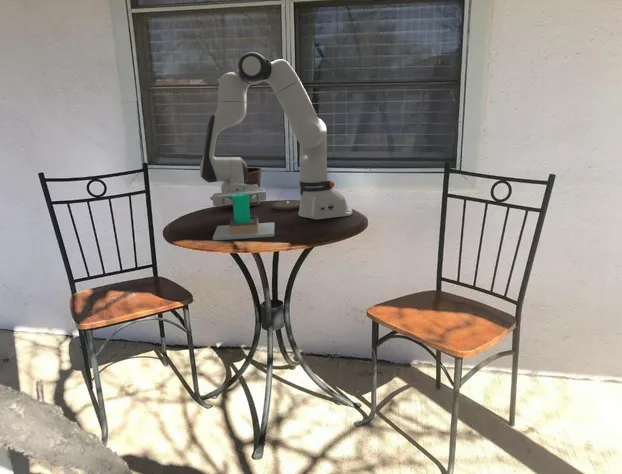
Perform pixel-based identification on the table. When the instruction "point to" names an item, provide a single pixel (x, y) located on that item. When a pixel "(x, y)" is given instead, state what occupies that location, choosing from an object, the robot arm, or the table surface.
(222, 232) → the board
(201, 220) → the table surface
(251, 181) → the plant pot
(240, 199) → the candle
